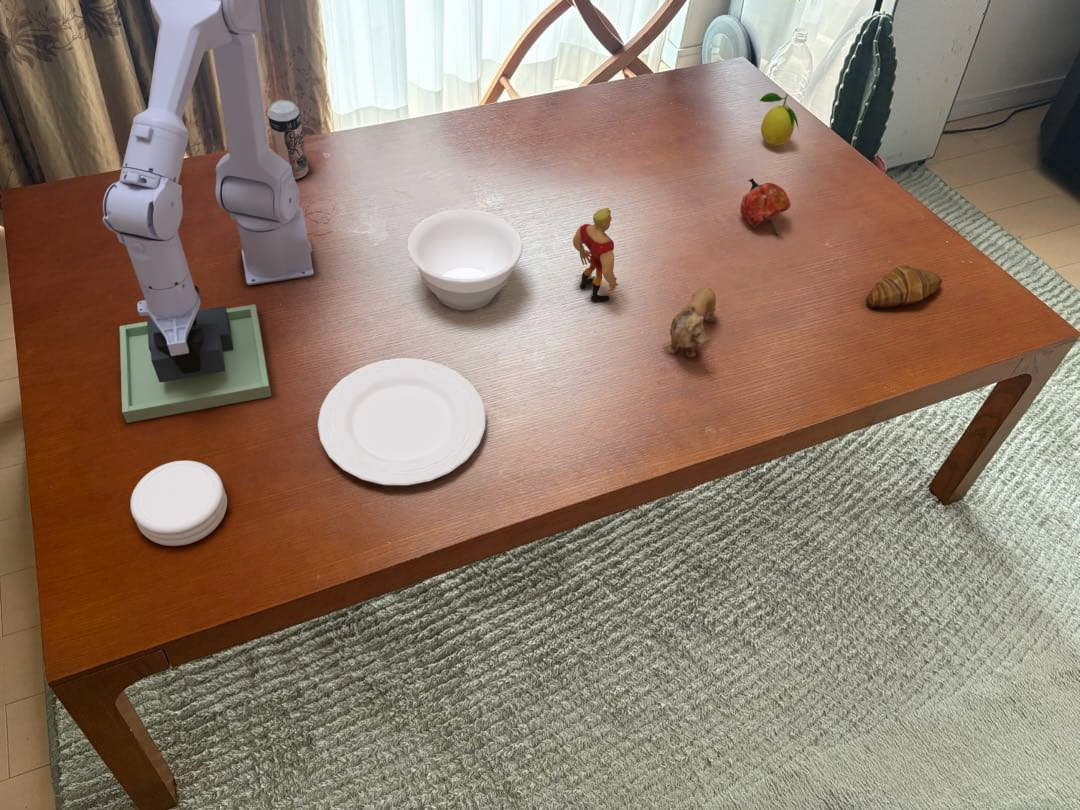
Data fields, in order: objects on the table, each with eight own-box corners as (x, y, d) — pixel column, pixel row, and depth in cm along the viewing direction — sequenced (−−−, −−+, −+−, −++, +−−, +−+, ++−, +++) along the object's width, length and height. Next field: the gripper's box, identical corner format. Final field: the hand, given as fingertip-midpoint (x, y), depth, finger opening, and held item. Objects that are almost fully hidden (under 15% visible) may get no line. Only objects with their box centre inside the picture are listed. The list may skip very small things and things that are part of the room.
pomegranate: (785, 234, 151) (763, 177, 150) (809, 222, 144) (785, 162, 143) (747, 249, 149) (724, 191, 149) (769, 238, 142) (745, 177, 142)
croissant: (920, 271, 143) (933, 246, 139) (950, 299, 139) (963, 274, 135) (851, 293, 139) (861, 267, 135) (879, 322, 135) (891, 297, 131)
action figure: (621, 308, 134) (635, 224, 122) (600, 316, 132) (613, 232, 121) (585, 269, 139) (595, 186, 127) (565, 277, 137) (574, 193, 126)
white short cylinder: (118, 530, 104) (109, 512, 102) (172, 465, 111) (165, 447, 108) (194, 560, 103) (187, 543, 100) (244, 492, 109) (239, 474, 106)
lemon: (750, 134, 166) (763, 83, 158) (782, 134, 166) (796, 83, 159) (760, 156, 161) (774, 104, 154) (792, 155, 162) (808, 104, 154)
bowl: (387, 288, 133) (382, 241, 127) (466, 240, 142) (466, 194, 135) (464, 345, 127) (463, 298, 120) (542, 291, 135) (546, 245, 129)
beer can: (302, 183, 149) (291, 117, 139) (274, 178, 149) (261, 112, 140) (313, 167, 152) (303, 101, 143) (285, 162, 152) (273, 96, 143)
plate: (345, 515, 108) (343, 506, 106) (301, 390, 120) (299, 380, 118) (510, 464, 114) (511, 454, 112) (452, 350, 126) (452, 340, 125)
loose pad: (222, 344, 121) (215, 322, 118) (225, 371, 118) (219, 349, 115) (157, 354, 119) (149, 332, 116) (159, 382, 116) (151, 360, 113)
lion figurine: (697, 379, 125) (710, 331, 118) (659, 369, 126) (670, 321, 119) (717, 309, 135) (730, 262, 128) (681, 300, 135) (692, 252, 129)
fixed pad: (229, 322, 126) (225, 305, 124) (233, 349, 123) (229, 333, 121) (152, 334, 124) (146, 318, 122) (154, 363, 121) (148, 347, 118)
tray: (258, 315, 128) (255, 304, 127) (271, 396, 119) (268, 385, 117) (123, 337, 124) (119, 325, 123) (126, 423, 115) (121, 412, 113)
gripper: (125, 239, 111) (154, 321, 121) (128, 321, 102) (159, 402, 112) (186, 231, 112) (210, 312, 122) (195, 310, 103) (219, 391, 114)
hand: (190, 355), depth 117 cm, fingers closed on loose pad, 5 cm apart
